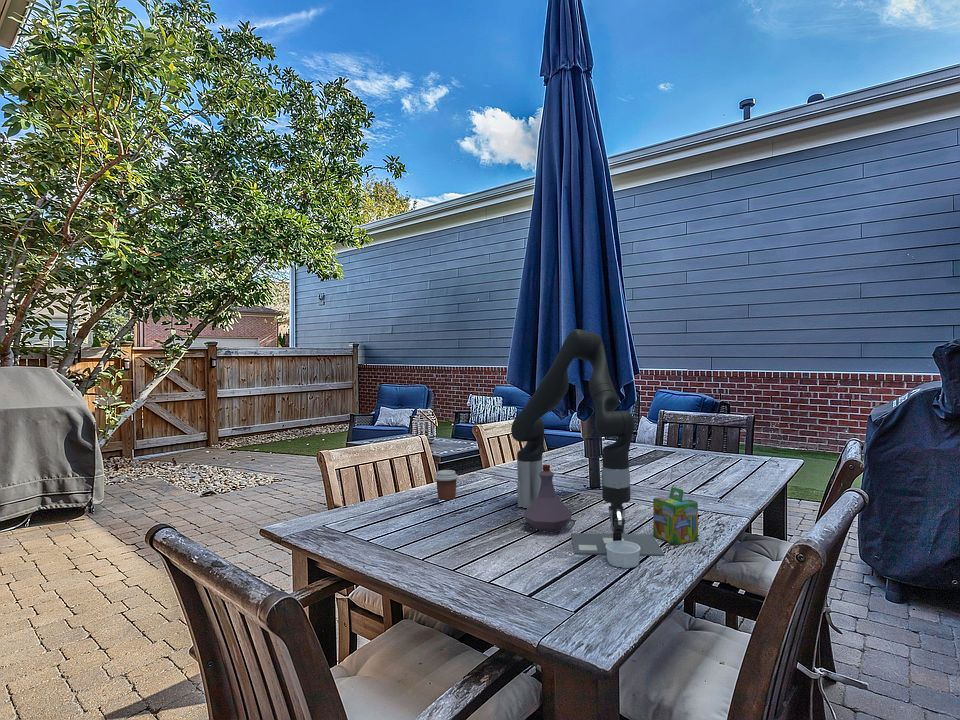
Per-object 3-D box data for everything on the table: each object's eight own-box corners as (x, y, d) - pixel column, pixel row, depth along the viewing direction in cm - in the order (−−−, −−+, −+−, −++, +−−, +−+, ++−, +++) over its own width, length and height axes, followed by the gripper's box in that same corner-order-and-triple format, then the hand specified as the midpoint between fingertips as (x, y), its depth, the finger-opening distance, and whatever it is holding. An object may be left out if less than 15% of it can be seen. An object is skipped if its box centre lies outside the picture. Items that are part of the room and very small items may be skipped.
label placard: (574, 554, 140) (574, 552, 140) (571, 534, 155) (571, 533, 155) (664, 555, 137) (664, 554, 137) (651, 535, 153) (651, 534, 153)
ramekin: (634, 572, 127) (633, 555, 127) (600, 564, 132) (600, 548, 132) (645, 560, 134) (645, 544, 134) (613, 553, 139) (612, 538, 139)
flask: (529, 538, 153) (527, 472, 153) (517, 521, 169) (515, 461, 169) (581, 534, 155) (579, 469, 156) (564, 518, 172) (562, 459, 172)
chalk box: (652, 536, 152) (651, 487, 152) (676, 531, 156) (674, 483, 156) (675, 546, 144) (674, 494, 144) (699, 541, 147) (698, 490, 147)
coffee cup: (430, 503, 194) (429, 472, 194) (448, 498, 200) (448, 468, 200) (444, 508, 187) (444, 475, 187) (463, 503, 193) (462, 471, 193)
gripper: (599, 477, 147) (600, 537, 147) (605, 489, 134) (606, 554, 134) (626, 477, 146) (627, 538, 146) (634, 489, 133) (635, 555, 133)
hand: (617, 545), depth 140 cm, fingers closed
